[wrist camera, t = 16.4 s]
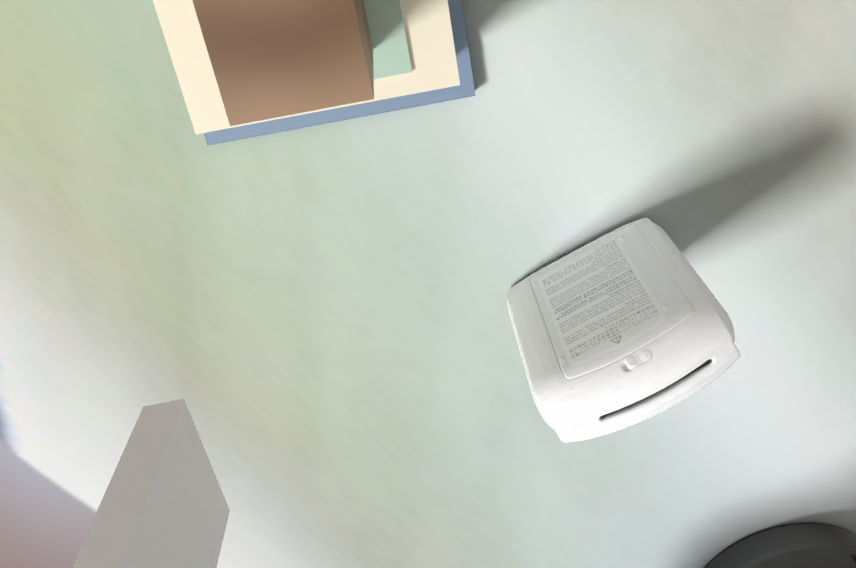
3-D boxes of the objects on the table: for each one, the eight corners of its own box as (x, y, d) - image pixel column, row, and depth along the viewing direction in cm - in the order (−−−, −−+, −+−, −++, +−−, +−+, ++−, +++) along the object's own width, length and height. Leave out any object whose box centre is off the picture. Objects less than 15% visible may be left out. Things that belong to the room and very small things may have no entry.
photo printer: (525, 341, 49) (570, 479, 38) (492, 289, 47) (529, 419, 36) (678, 260, 47) (773, 381, 36) (650, 202, 45) (741, 312, 34)
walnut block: (372, 49, 34) (374, 99, 27) (259, 71, 34) (230, 126, 27) (347, -77, 32) (341, -59, 24) (224, -53, 32) (183, -28, 25)
